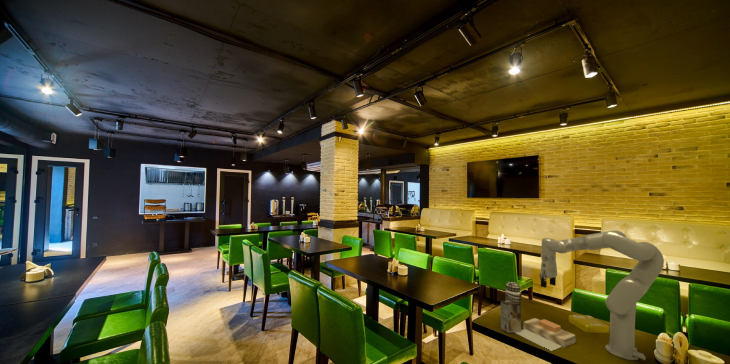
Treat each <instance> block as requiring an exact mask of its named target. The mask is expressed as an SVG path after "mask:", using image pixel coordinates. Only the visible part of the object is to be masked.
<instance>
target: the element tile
mask: <svg viewBox="0 0 730 364" xmlns="http://www.w3.org/2000/svg"><path fill="white" fill-rule="evenodd" d="M568 322H569V323H570V324H572V325H573V326H575V327H576V328H578V329H579V330H581V331H583V332H585V333H589V334H610V325H608V324H606V323H604V322H602V321H601V320H599V319H597V318H595V317H593V316H591V315H588V314H587V315H586V314H585V315H583V314H569V315H568Z"/></svg>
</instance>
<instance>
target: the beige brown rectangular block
mask: <svg viewBox="0 0 730 364" xmlns="http://www.w3.org/2000/svg"><path fill="white" fill-rule="evenodd" d="M540 320H541V319H539V318H536V317H533V318H531V319H528V320H525V321H523V324H522V325H523V326H522V327H523V329H526V330H529V331H531V332H533V333H535V334H537V335H539V336H541V337H543V338H545V339H548V340H550V341H552V342H554V343H556V344H558V345H560V346H562V347H561V348H563V349H564V348H567V347H569V346H572V345H574V344H575V343H576V340H577V339H576V334H574V333H571V332H569V331H567V330H564V329H562V328H561V331H558V332H556V333H554V332H552V331H550V330H548V329H545V328H543V327H541V326H539V325H538V323H539V321H540ZM523 329H522V330H523Z"/></svg>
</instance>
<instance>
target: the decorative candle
mask: <svg viewBox="0 0 730 364" xmlns="http://www.w3.org/2000/svg"><path fill="white" fill-rule="evenodd" d="M505 285H506V287H505V292H504V301H507V300H513V301H516V302H518V303H520V304H521V303H522V299H521V298H522V292H521V286H520V285H519V283H517V282H515V281H508V282H507V283H506V284H505Z"/></svg>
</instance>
